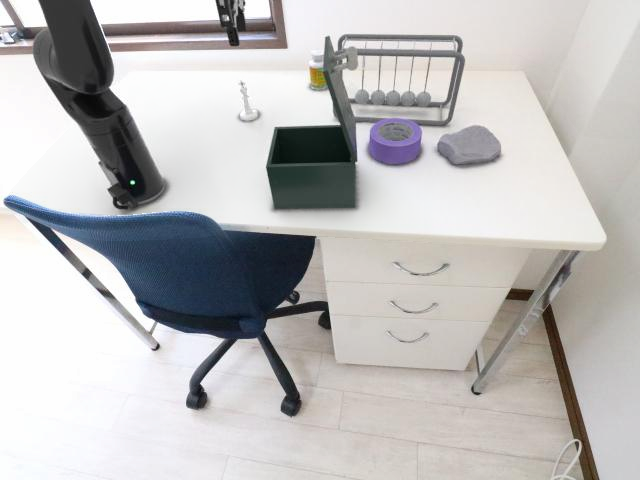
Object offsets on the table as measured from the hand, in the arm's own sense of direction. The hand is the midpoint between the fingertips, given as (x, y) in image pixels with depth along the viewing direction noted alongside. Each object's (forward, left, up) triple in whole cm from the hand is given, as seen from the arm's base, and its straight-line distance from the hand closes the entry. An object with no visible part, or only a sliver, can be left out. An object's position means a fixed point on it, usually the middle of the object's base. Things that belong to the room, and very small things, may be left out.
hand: (238, 38), depth 85 cm
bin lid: (-9, -35, -2) cm, 36 cm away
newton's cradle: (+23, -29, -21) cm, 42 cm away
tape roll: (+9, -38, -21) cm, 44 cm away
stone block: (+17, -53, -21) cm, 59 cm away
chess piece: (+1, +3, -21) cm, 22 cm away
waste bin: (-12, -31, -21) cm, 39 cm away
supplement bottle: (+25, -3, -21) cm, 33 cm away
